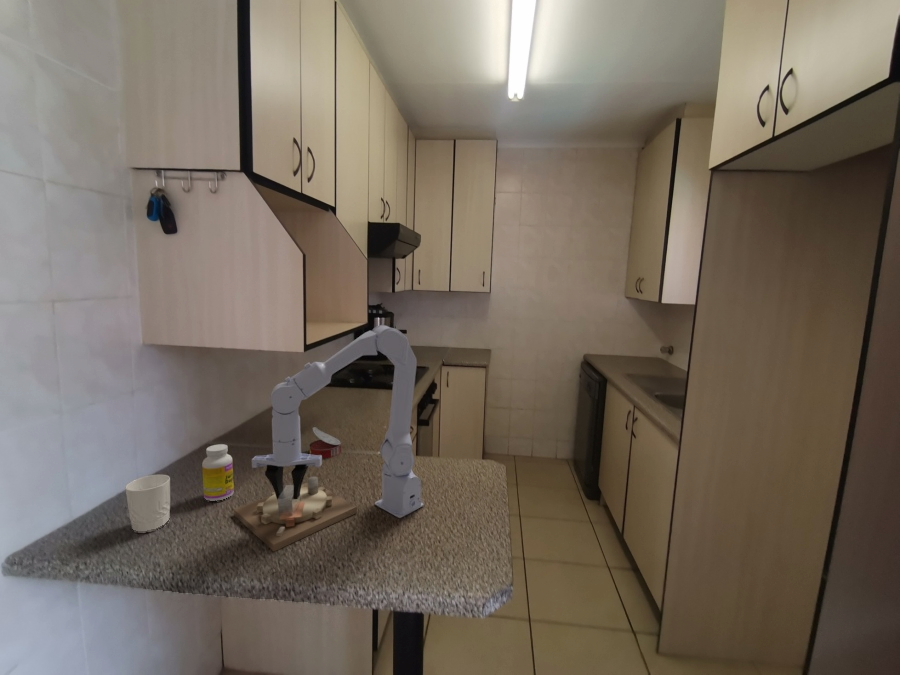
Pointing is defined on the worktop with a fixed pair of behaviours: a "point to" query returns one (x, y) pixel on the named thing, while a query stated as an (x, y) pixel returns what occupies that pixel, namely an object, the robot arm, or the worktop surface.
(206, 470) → the supplement bottle
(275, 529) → the base board
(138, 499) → the white cup
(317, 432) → the canned food
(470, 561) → the worktop surface
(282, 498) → the link block
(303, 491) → the sprocket wheel
